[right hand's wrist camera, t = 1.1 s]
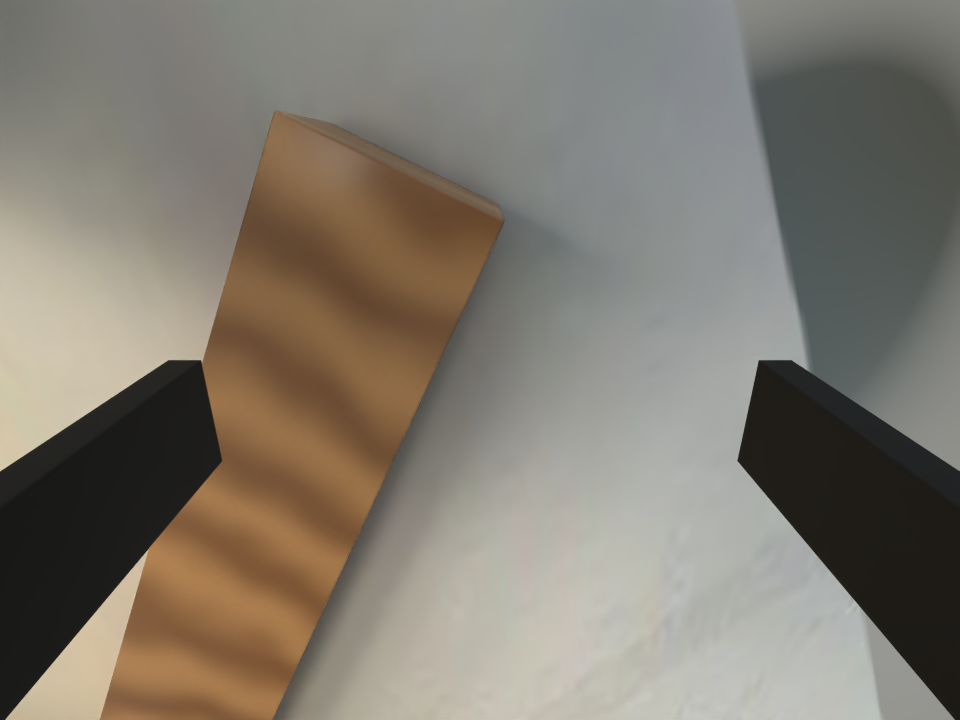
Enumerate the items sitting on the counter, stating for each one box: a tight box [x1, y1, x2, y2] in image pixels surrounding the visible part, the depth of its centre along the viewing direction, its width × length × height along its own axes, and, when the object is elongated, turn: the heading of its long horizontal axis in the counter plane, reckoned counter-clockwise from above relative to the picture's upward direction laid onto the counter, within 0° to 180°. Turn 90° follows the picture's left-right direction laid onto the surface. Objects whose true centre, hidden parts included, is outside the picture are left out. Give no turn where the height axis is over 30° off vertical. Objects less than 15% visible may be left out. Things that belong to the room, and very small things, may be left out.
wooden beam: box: [100, 111, 504, 720], centre depth 36 cm, size 78×10×7 cm, turn 155°
